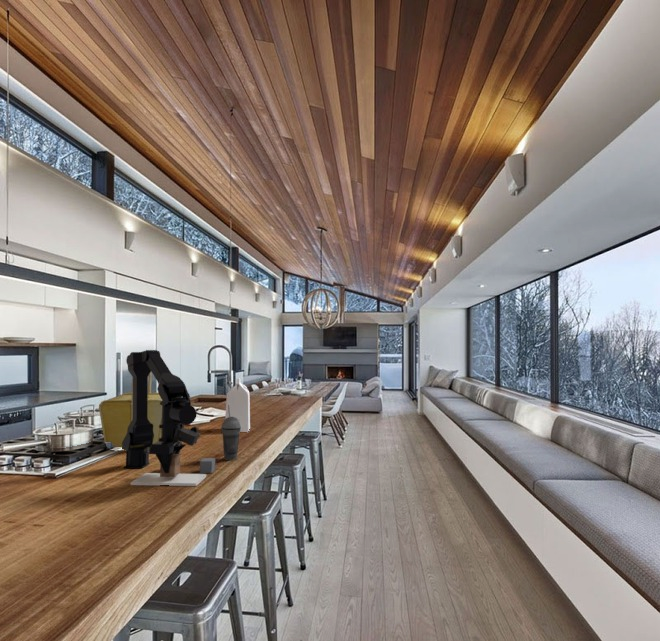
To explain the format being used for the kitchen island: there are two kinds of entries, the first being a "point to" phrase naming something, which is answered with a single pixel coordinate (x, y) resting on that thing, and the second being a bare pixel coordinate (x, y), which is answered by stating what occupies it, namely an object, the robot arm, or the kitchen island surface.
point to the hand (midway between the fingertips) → (169, 470)
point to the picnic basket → (128, 416)
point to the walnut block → (172, 467)
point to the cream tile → (169, 479)
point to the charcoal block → (207, 465)
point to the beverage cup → (230, 436)
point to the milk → (239, 405)
